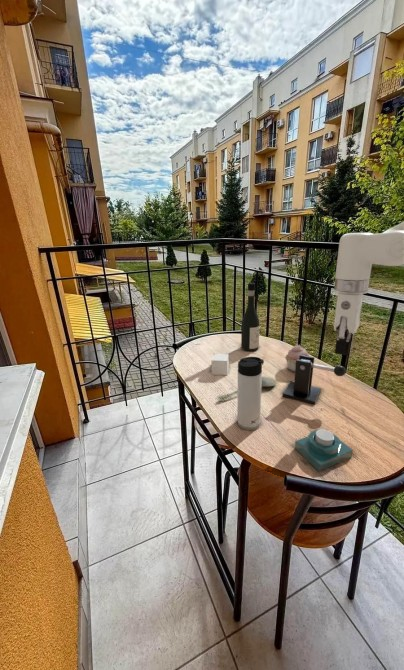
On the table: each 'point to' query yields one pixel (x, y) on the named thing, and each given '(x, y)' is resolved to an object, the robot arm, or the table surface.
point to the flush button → (324, 437)
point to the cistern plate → (322, 451)
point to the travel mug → (249, 392)
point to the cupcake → (294, 356)
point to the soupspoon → (264, 383)
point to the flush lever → (329, 368)
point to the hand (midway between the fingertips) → (341, 353)
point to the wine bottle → (250, 324)
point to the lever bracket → (303, 383)
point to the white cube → (220, 364)
